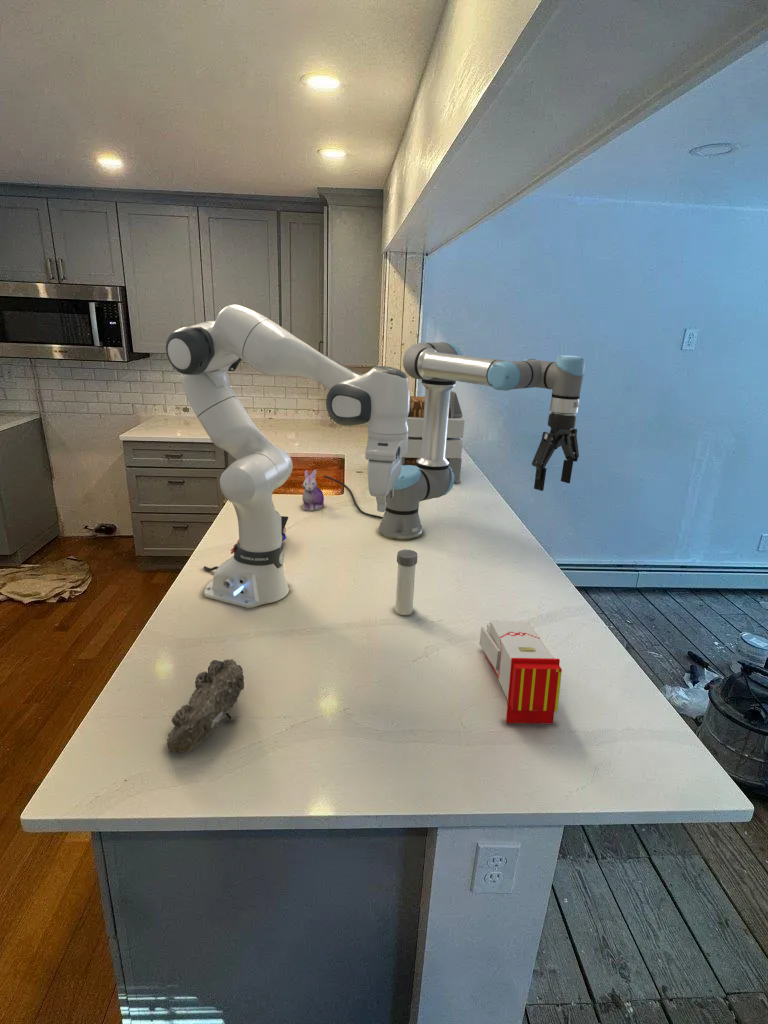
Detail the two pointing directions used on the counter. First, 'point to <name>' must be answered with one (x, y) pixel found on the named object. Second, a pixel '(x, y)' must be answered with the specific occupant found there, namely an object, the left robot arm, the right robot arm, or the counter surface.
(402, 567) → the jar
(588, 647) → the counter surface
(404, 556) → the lid
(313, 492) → the figurine
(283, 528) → the figurine character
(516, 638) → the toy
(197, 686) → the fossil
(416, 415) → the grey tall slatted box
